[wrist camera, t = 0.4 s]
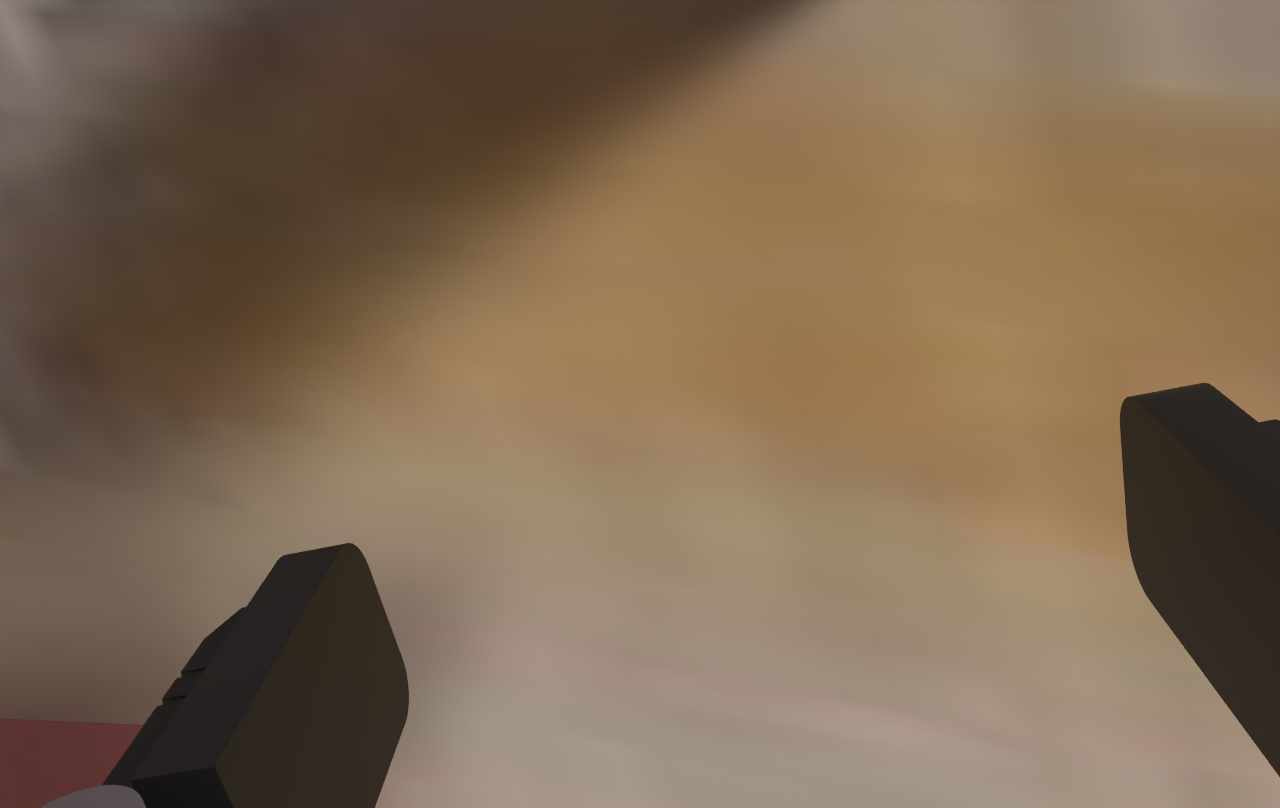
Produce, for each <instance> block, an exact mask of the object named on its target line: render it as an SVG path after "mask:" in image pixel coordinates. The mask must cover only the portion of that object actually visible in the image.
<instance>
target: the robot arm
mask: <svg viewBox="0 0 1280 808" xmlns="http://www.w3.org/2000/svg"><path fill="white" fill-rule="evenodd" d="M1120 432H1121V446H1122V461H1123V475H1124V490H1125V504H1126V519H1127V533H1128V542H1129V548H1130V553H1131V557H1132V561H1133V564H1134V568H1135V571H1136V574H1137V576H1138V579H1139V581H1140V584H1141V586H1142V588H1143V590H1144V592H1145V594H1146V595H1147V597H1148V598H1149V600H1150V601H1151V603H1152V604H1153V605H1154V607H1155V608H1156V610H1157V611H1158V612H1159V614H1160V615H1161V616H1162V618H1163V619H1164V620H1165V622H1166V623H1167V624H1168V626H1169V627H1170V629H1171V630H1172V631H1173V633H1174V634H1175V635H1176V637H1177V638H1178V639H1179V641H1180V642H1181V643H1182V645H1183V646H1184V648H1185V649H1186V650H1187V652H1188V653H1189V654H1190V656H1191V657H1192V658H1193V660H1194V661H1195V662H1196V664H1197V665H1198V667H1199V668H1200V669H1201V671H1202V672H1203V673H1204V675H1205V676H1206V677H1207V679H1208V680H1209V681H1210V683H1211V684H1212V686H1213V687H1214V688H1215V690H1216V691H1217V692H1218V694H1219V695H1220V696H1221V698H1222V699H1223V701H1224V702H1225V703H1226V705H1227V706H1228V707H1229V709H1230V710H1231V711H1232V713H1233V714H1234V715H1235V717H1236V718H1237V720H1238V721H1239V722H1240V724H1241V725H1242V726H1243V728H1244V729H1245V730H1246V732H1247V733H1248V734H1249V736H1250V737H1251V739H1252V740H1253V741H1254V743H1255V744H1256V745H1257V747H1258V748H1259V749H1260V751H1261V752H1262V753H1263V755H1264V756H1265V758H1266V759H1267V760H1268V762H1269V763H1270V764H1271V766H1272V767H1273V768H1274V770H1275V771H1276V772H1277V774H1278V775H1279V777H1280V421H1279V420H1276V419H1275V420H1269V421H1264V422H1259V423H1258V422H1257V421H1256V420H1255V419H1253V418H1252V417H1251V416H1250V415H1248V414H1247V413H1246V412H1245V411H1243V410H1242V409H1241V408H1240V407H1238V406H1237V405H1236V404H1235V403H1233V402H1232V401H1231V400H1230V399H1228V398H1227V397H1226V396H1225V395H1223V394H1222V393H1221V392H1220V391H1218V390H1217V389H1216V388H1214V387H1213V386H1212V385H1210V384H1208V383H1200V384H1195V385H1189V386H1184V387H1179V388H1173V389H1168V390H1163V391H1158V392H1152V393H1147V394H1142V395H1136V396H1131V397H1127V398H1126V399H1125V400H1124V401H1123V403H1122V406H1121V412H1120ZM181 674H182V678H177V679H176V680H175V681H174V683H173V684H172V686H171V687H170V688H169V690H168V691H167V693H166V694H165V696H164V697H163V698H162V701H163V705H161V706H157V707H156V708H155V710H154V711H153V713H152V714H151V716H150V717H149V718H148V720H147V721H146V723H145V724H144V726H143V727H142V728H141V730H140V731H139V733H138V734H137V736H136V737H135V738H134V740H133V741H132V743H131V744H130V745H129V747H128V748H127V750H126V751H125V753H124V754H123V755H122V757H121V758H120V760H119V761H118V763H117V764H116V765H115V767H114V768H113V770H112V771H111V773H110V774H109V775H108V777H107V778H106V780H105V781H104V783H103V784H102V785H101V786H97V787H91V788H87V789H83V790H80V791H77V792H73V793H71V794H68V795H66V796H63V797H61V798H58V799H56V800H54V801H52V802H50V803H48V804H46V805H44V806H42V807H40V808H375V806H376V803H377V800H378V797H379V794H380V792H381V789H382V786H383V783H384V781H385V778H386V775H387V772H388V769H389V767H390V764H391V761H392V758H393V756H394V753H395V750H396V747H397V744H398V742H399V739H400V736H401V733H402V731H403V728H404V725H405V722H406V719H407V713H408V705H409V691H408V680H407V674H406V670H405V665H404V662H403V659H402V656H401V654H400V651H399V648H398V645H397V643H396V640H395V637H394V634H393V632H392V629H391V626H390V624H389V621H388V618H387V615H386V613H385V610H384V607H383V604H382V602H381V599H380V596H379V594H378V591H377V588H376V585H375V583H374V580H373V577H372V575H371V572H370V569H369V566H368V564H367V562H366V559H365V557H364V555H363V554H362V552H361V551H360V549H359V548H358V547H357V546H355V545H354V544H351V543H346V544H341V545H336V546H330V547H325V548H320V549H315V550H309V551H304V552H299V553H293V554H288V555H284V556H282V557H281V558H280V559H279V560H278V561H277V562H276V564H275V565H274V567H273V568H272V570H271V571H270V573H269V574H268V576H267V577H266V579H265V580H264V582H263V583H262V585H261V586H260V588H259V589H258V591H257V592H256V594H255V595H254V597H253V598H252V599H251V601H250V602H249V604H248V605H247V607H245V608H241V609H240V610H239V611H237V612H236V613H235V614H234V615H233V616H231V617H230V618H229V619H228V620H227V621H225V622H224V623H223V624H222V625H221V626H219V627H218V628H217V629H216V630H215V631H213V632H212V633H211V634H210V635H209V636H207V637H206V638H205V639H204V640H203V641H202V643H201V644H200V646H199V647H198V649H197V650H196V651H195V653H194V654H193V656H192V657H191V658H190V660H189V661H188V663H187V664H186V666H185V667H184V668H183V670H182V671H181Z"/></svg>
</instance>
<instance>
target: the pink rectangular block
mask: <svg viewBox="0 0 1280 808" xmlns="http://www.w3.org/2000/svg"><path fill="white" fill-rule="evenodd" d="M143 726H144V725H126V724H104V723H81V722H58V721H36V720H13V719H0V808H40V807H42V806H44V805H46V804H48V803H50V802H52V801H54V800H56V799H58V798H61V797H63V796H66V795H68V794H71V793H73V792H77V791H80V790H83V789H87V788H91V787H97V786H101V785H102V784H103V783H104V781H105V780H106V778H107V777H108V775H109V774H110V773H111V771H112V770H113V768H114V767H115V765H116V764H117V763H118V761H119V760H120V758H121V757H122V755H123V754H124V753H125V751H126V750H127V748H128V747H129V745H130V744H131V743H132V741H133V740H134V738H135V737H136V736H137V734H138V733H139V731H140V730H141V728H142V727H143Z"/></svg>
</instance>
